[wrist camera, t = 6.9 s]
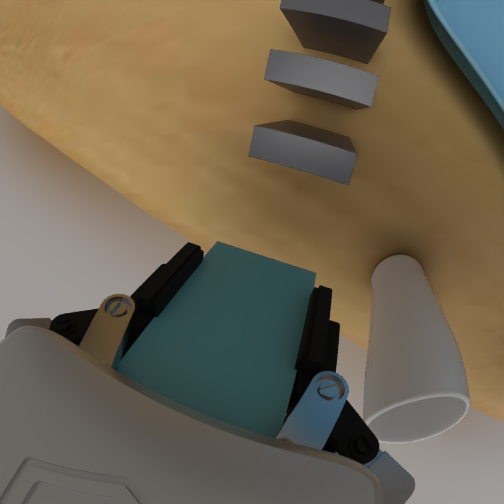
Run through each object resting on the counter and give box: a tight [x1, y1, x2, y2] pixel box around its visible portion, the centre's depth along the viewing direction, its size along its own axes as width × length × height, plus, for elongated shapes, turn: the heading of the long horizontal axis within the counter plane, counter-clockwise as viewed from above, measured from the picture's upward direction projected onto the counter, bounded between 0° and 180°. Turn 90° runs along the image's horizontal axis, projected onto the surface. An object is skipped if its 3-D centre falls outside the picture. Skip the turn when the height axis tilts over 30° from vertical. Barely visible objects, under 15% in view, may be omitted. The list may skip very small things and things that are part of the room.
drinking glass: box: [363, 255, 470, 444], centre depth 17 cm, size 7×7×15 cm
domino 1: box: [280, 0, 391, 64], centre depth 11 cm, size 2×5×9 cm, turn 80°
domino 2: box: [264, 49, 378, 109], centre depth 13 cm, size 2×5×9 cm, turn 79°
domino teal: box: [116, 241, 316, 438], centre depth 10 cm, size 2×5×9 cm, turn 79°
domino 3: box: [249, 120, 358, 185], centre depth 16 cm, size 2×5×9 cm, turn 79°
